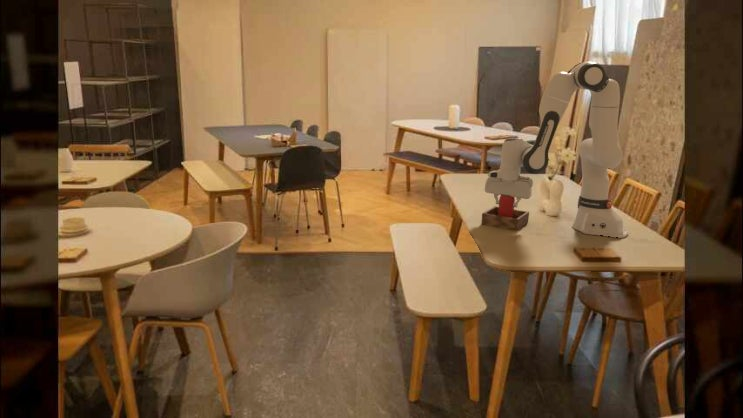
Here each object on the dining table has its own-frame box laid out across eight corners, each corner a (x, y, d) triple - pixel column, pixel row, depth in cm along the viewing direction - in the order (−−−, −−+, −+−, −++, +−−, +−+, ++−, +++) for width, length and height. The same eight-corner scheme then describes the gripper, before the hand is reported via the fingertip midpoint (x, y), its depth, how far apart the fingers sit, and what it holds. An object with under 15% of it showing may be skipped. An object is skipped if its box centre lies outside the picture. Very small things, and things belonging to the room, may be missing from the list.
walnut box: (528, 222, 256) (529, 211, 255) (517, 230, 242) (518, 219, 241) (493, 216, 264) (494, 206, 262) (481, 224, 250) (482, 213, 249)
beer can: (513, 223, 249) (515, 196, 246) (497, 222, 250) (500, 195, 247) (512, 219, 255) (514, 193, 252) (497, 218, 256) (499, 192, 253)
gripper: (535, 176, 245) (531, 208, 249) (489, 170, 255) (487, 200, 259) (531, 179, 240) (527, 210, 243) (484, 172, 250) (482, 203, 253)
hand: (506, 205), depth 251 cm, fingers closed on beer can, 6 cm apart
